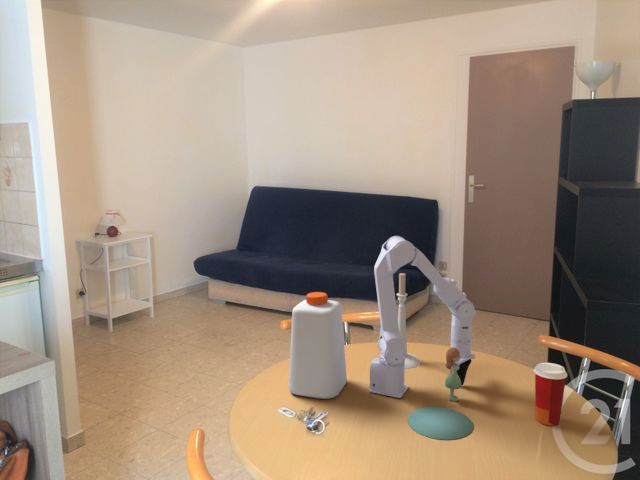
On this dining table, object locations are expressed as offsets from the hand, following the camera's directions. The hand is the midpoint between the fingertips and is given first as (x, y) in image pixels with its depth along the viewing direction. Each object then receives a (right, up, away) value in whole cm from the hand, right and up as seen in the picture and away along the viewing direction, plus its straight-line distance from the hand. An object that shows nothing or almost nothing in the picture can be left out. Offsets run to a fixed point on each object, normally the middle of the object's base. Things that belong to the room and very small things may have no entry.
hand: (459, 383), depth 152 cm
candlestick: (-14, +2, +19) cm, 23 cm away
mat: (-10, -4, -20) cm, 23 cm away
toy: (-4, -3, -7) cm, 9 cm away
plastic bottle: (-41, -2, +1) cm, 41 cm away
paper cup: (+17, -4, -19) cm, 26 cm away
